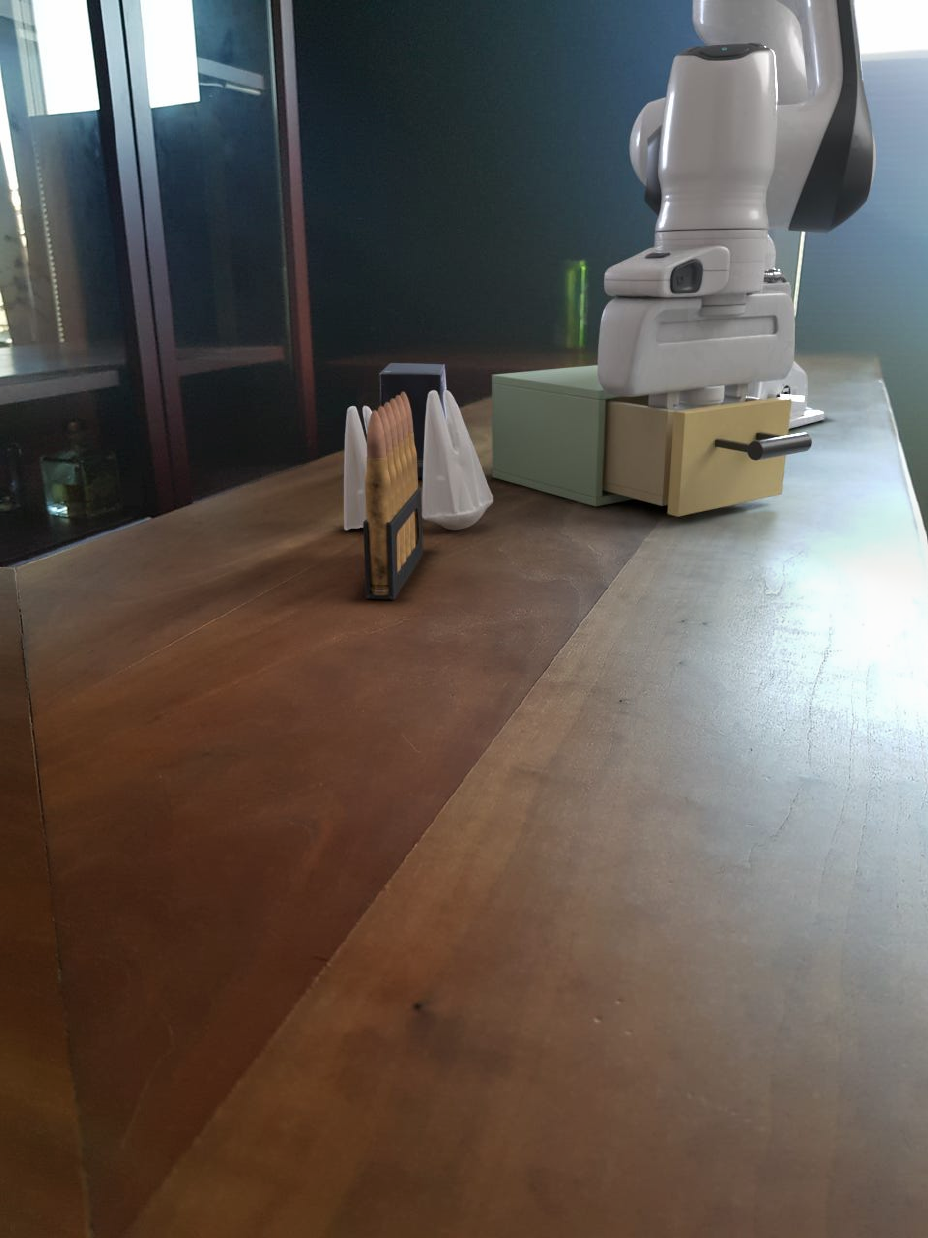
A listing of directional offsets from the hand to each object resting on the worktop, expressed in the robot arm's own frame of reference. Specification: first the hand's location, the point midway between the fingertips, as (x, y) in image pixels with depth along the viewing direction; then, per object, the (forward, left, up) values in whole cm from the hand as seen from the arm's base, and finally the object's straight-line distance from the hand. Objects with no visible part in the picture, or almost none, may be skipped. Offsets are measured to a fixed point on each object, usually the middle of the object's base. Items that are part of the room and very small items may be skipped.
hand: (695, 441), depth 82 cm
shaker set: (+23, -9, -6) cm, 25 cm away
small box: (+11, -29, -6) cm, 31 cm away
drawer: (0, 0, -5) cm, 5 cm away
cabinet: (0, -13, -6) cm, 14 cm away
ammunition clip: (+31, +1, -6) cm, 32 cm away
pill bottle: (0, 0, -4) cm, 4 cm away
